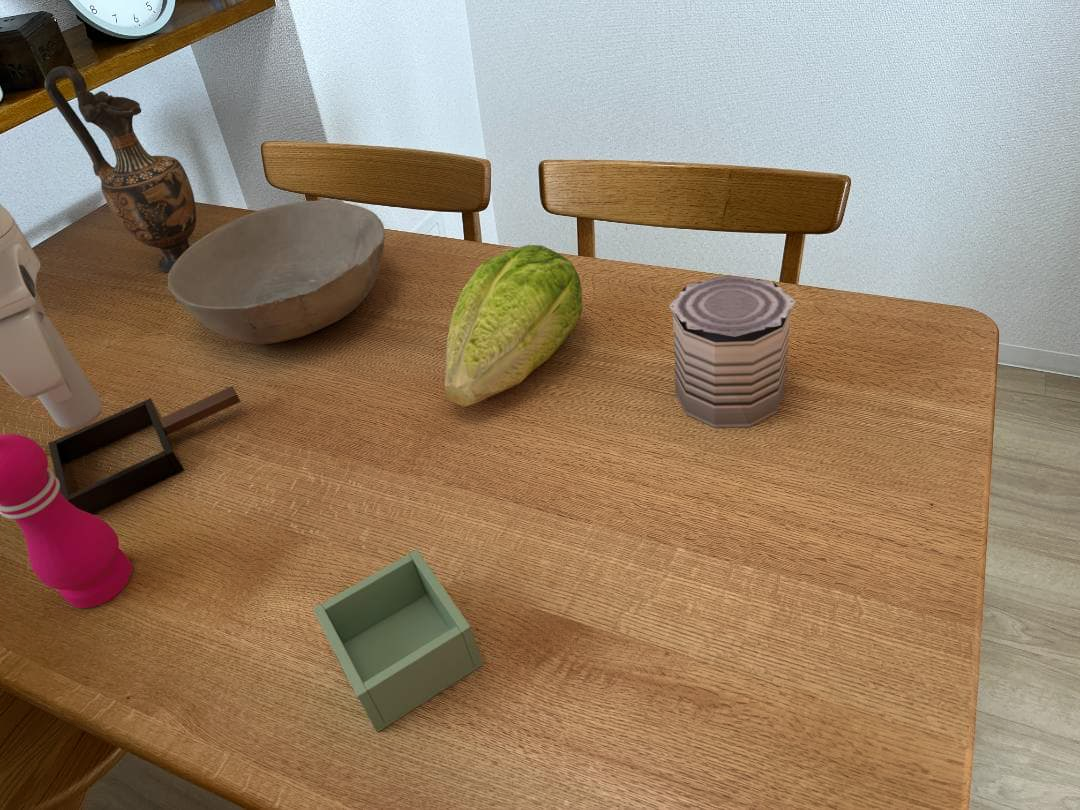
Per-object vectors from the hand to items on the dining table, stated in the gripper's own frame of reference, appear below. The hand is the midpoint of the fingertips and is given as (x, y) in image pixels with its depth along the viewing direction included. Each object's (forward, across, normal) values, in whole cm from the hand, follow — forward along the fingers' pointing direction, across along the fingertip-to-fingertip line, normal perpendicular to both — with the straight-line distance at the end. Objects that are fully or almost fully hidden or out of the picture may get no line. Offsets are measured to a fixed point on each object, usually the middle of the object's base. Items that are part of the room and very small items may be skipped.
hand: (59, 383), depth 82 cm
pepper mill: (+13, +16, -4) cm, 21 cm away
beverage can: (+5, 0, 0) cm, 5 cm away
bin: (+13, +42, +16) cm, 47 cm away
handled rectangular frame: (+12, 0, +5) cm, 13 cm away
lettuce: (+12, +15, +44) cm, 48 cm away
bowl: (+12, -16, +28) cm, 34 cm away
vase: (+12, -44, +18) cm, 49 cm away
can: (+12, +35, +58) cm, 69 cm away
